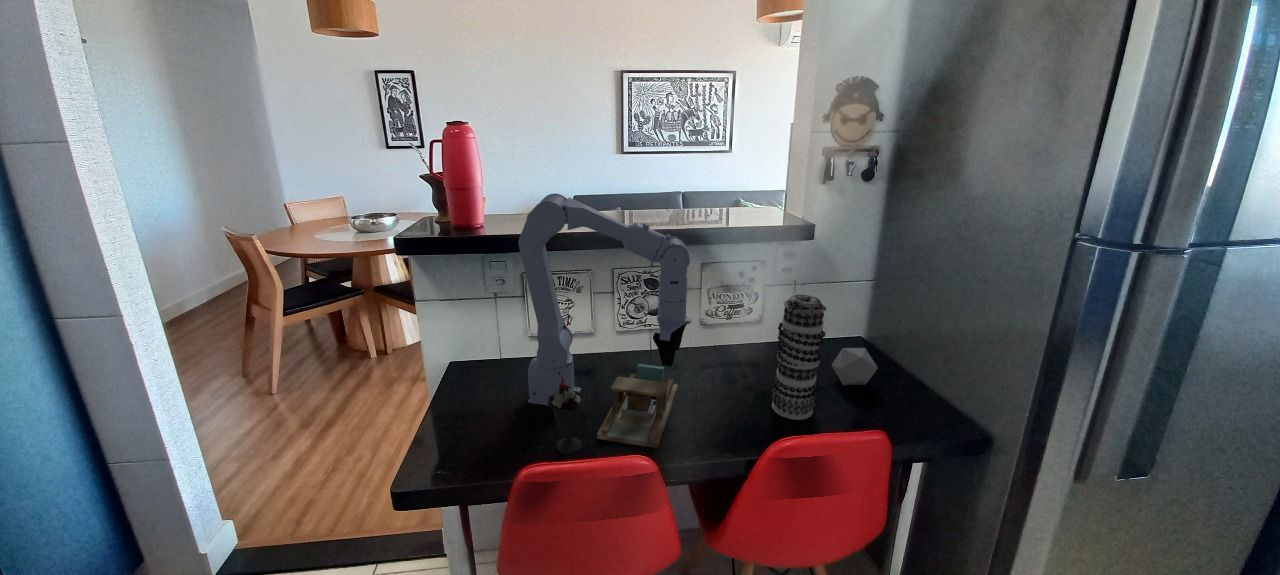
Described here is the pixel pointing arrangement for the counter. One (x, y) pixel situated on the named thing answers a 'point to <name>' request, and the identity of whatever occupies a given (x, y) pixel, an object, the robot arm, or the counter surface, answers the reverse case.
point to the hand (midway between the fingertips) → (670, 356)
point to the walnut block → (639, 402)
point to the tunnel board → (632, 426)
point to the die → (854, 366)
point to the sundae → (566, 416)
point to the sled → (646, 374)
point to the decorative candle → (798, 356)
